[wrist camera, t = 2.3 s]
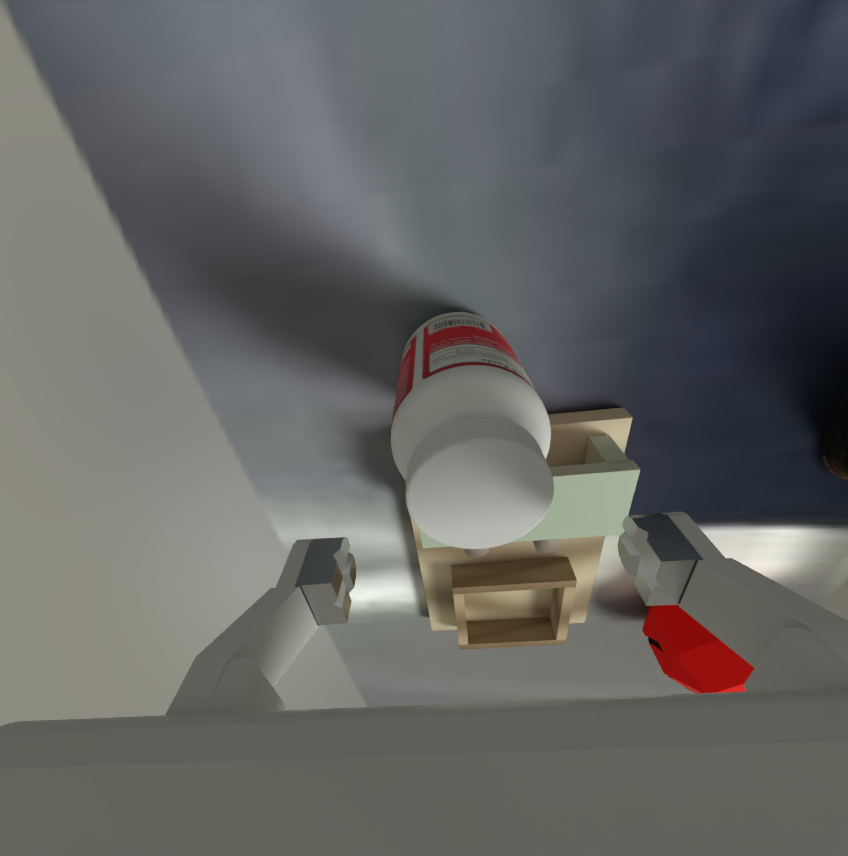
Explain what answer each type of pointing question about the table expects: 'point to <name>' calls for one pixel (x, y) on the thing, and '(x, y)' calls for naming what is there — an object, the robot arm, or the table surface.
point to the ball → (693, 652)
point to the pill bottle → (470, 435)
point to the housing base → (522, 564)
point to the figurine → (837, 440)
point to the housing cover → (585, 496)
